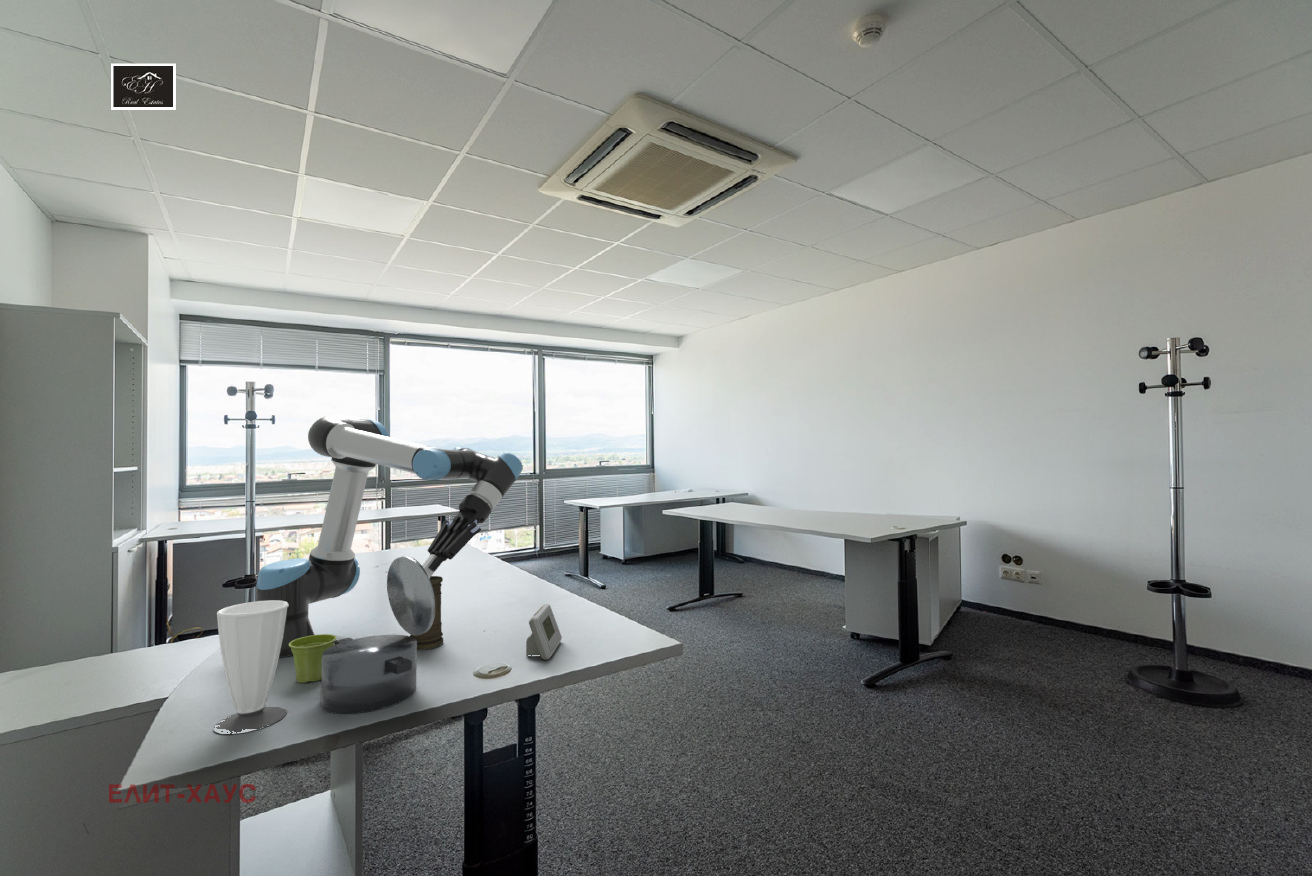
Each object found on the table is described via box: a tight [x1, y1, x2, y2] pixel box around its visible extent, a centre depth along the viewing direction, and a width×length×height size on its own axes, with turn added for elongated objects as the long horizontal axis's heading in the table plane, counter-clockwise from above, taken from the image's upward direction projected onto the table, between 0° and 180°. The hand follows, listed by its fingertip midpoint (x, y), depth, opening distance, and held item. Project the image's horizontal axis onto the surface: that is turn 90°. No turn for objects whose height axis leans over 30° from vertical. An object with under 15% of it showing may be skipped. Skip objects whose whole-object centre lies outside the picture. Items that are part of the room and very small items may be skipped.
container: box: [409, 575, 444, 651], centre depth 151 cm, size 9×9×18 cm
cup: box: [213, 600, 289, 734], centre depth 107 cm, size 12×12×22 cm
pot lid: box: [386, 555, 435, 636], centre depth 126 cm, size 18×18×2 cm
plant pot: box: [289, 633, 337, 684], centre depth 128 cm, size 9×9×9 cm
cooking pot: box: [320, 634, 418, 715], centre depth 118 cm, size 27×18×10 cm, turn 54°
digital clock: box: [525, 603, 562, 661], centre depth 145 cm, size 16×9×11 cm, turn 167°
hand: (418, 581), depth 126 cm, fingers closed
